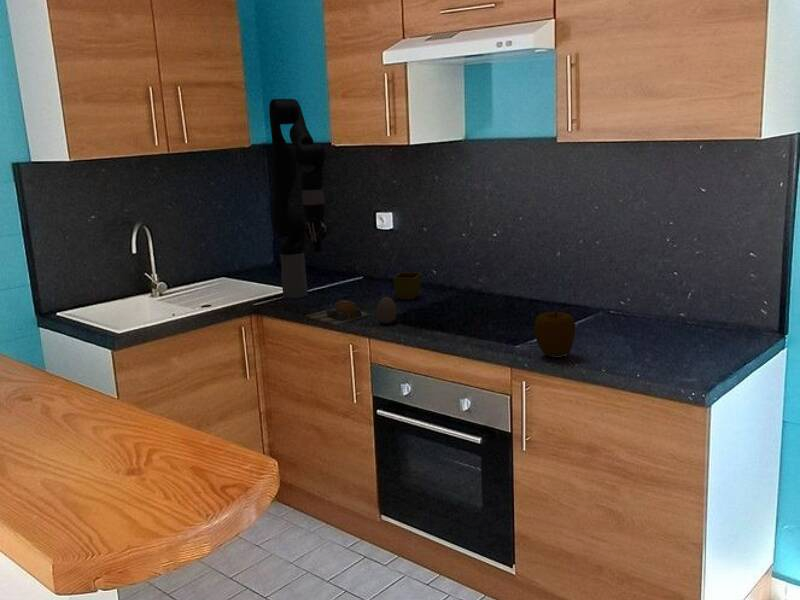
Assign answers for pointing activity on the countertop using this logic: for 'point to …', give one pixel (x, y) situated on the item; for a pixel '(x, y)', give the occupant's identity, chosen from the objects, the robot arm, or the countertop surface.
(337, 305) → the plug block
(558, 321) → the apple
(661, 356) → the countertop surface
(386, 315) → the egg
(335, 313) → the header board
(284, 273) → the robot arm
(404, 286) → the flower pot
